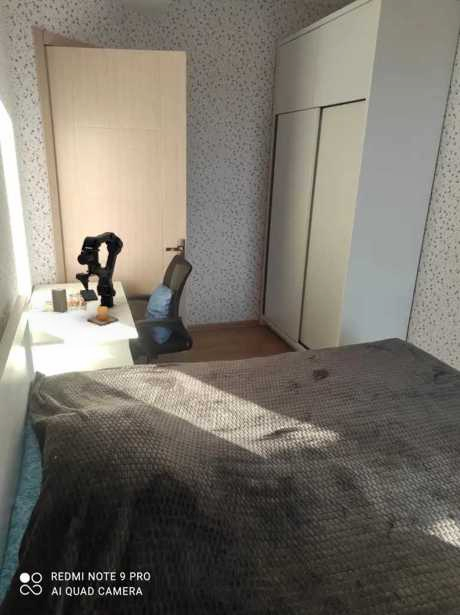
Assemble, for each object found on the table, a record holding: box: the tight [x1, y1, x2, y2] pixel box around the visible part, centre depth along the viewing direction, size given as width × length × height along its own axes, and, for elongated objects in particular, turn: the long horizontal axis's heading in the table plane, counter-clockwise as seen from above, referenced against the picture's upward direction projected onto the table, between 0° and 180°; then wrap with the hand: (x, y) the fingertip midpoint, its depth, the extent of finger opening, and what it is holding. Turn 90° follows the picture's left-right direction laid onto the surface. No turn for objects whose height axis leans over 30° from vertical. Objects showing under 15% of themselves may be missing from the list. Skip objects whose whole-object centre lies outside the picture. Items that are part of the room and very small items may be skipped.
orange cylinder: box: [96, 306, 109, 321], centre depth 234 cm, size 5×5×6 cm
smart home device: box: [79, 288, 99, 302], centre depth 274 cm, size 8×2×20 cm
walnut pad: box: [86, 314, 119, 327], centre depth 235 cm, size 11×11×1 cm
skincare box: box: [51, 287, 68, 313], centre depth 245 cm, size 6×4×12 cm
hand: (94, 290), depth 242 cm, fingers open, 9 cm apart
